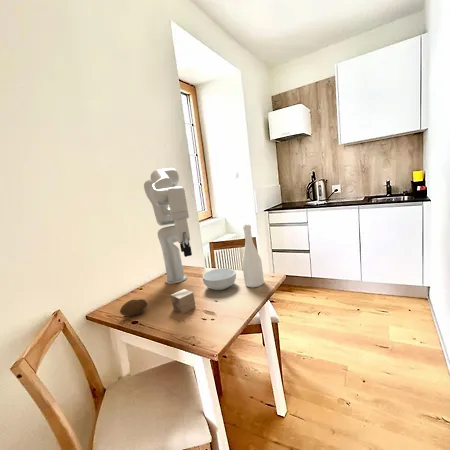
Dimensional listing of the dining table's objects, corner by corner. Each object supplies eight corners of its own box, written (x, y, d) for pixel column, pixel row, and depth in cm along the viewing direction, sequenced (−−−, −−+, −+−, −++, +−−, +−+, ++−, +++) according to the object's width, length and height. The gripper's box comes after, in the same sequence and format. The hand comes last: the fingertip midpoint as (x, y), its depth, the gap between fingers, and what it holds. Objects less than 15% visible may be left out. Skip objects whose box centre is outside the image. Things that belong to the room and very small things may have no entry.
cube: (173, 309, 113) (170, 294, 112) (186, 303, 117) (184, 288, 116) (182, 314, 108) (179, 298, 106) (195, 307, 112) (193, 292, 111)
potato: (151, 311, 114) (148, 296, 113) (125, 322, 107) (122, 307, 106) (144, 307, 120) (142, 293, 119) (120, 317, 112) (116, 303, 111)
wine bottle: (262, 279, 132) (255, 222, 127) (265, 286, 123) (258, 225, 118) (244, 281, 132) (236, 224, 127) (246, 289, 123) (237, 228, 118)
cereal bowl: (223, 296, 118) (221, 282, 117) (197, 291, 129) (195, 278, 128) (243, 282, 132) (241, 269, 130) (218, 278, 142) (216, 266, 141)
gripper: (169, 215, 119) (175, 251, 121) (173, 218, 102) (180, 260, 105) (185, 212, 121) (191, 248, 123) (191, 215, 104) (198, 256, 107)
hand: (186, 253), depth 114 cm, fingers open, 9 cm apart
